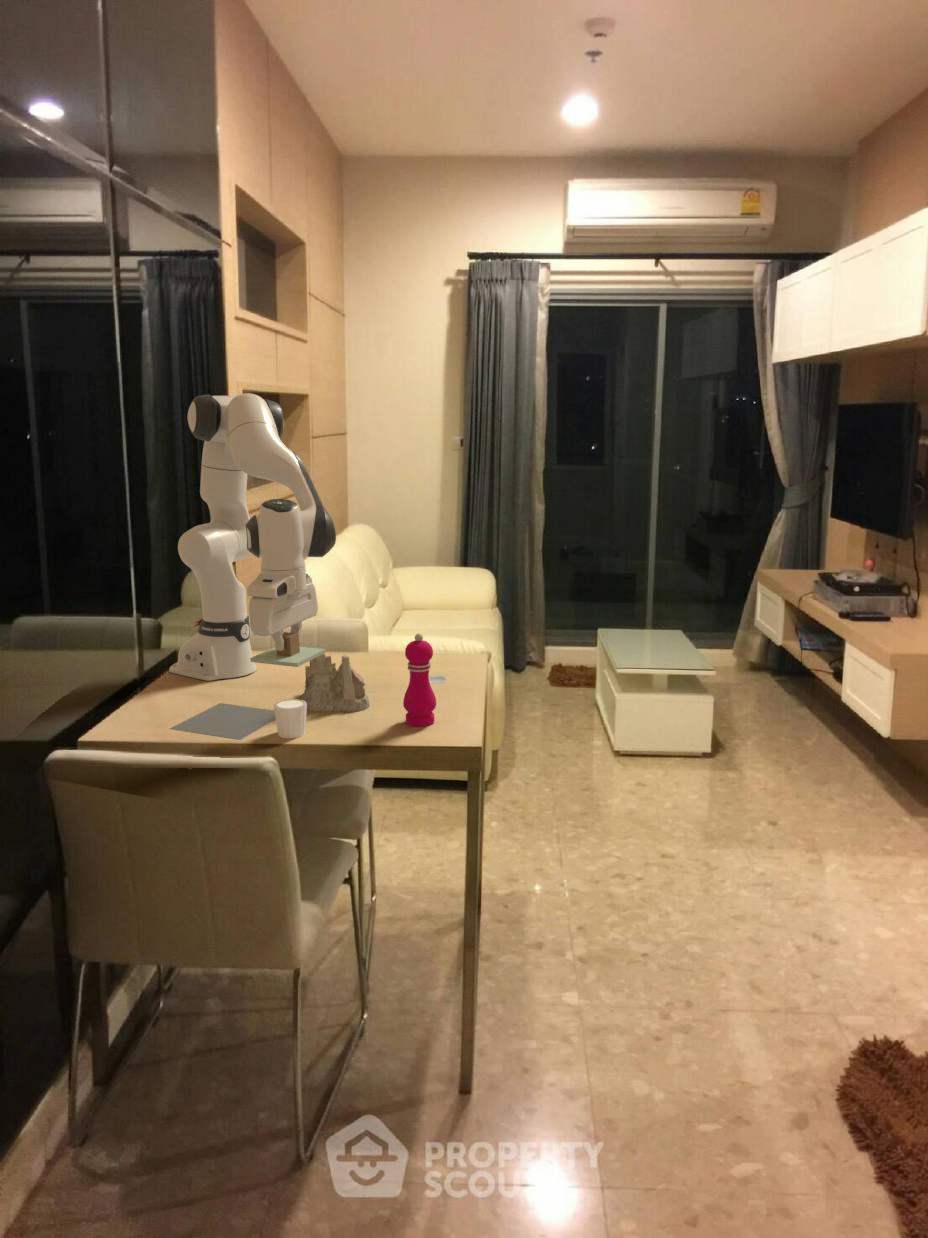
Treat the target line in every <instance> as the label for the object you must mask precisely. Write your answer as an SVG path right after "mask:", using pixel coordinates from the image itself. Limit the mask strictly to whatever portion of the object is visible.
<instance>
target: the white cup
mask: <svg viewBox="0 0 928 1238" xmlns="http://www.w3.org/2000/svg"><path fill="white" fill-rule="evenodd" d="M273 710H274V711H275V717H276V719H275V721H276V722H275V723H276V728H277V730H276V731H277V735H278V737H279V738H282V739H297V738H300V737H303V736H304V735H305V734H306V732H307V731H306V729H307V710H308V709H307V703H306V702H305V701H303V700H301V699H297V698H290V699H283V700H279V701H277V702H275V703H274V704H273Z"/></svg>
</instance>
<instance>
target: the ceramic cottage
mask: <svg viewBox="0 0 928 1238" xmlns="http://www.w3.org/2000/svg"><path fill="white" fill-rule="evenodd" d="M316 648H318V649H321V647H320V646H319V647H316ZM350 664H351V663H350V656H348V655H342V656H341V663H340V665H339V667H338V668H336V666H337V664H336V663H335V662H333V661H332V656H331V655H327V656H326V652H325V653H324V654H322V655H320V656H318V657H316V658H314V659H312V660H310V661H309V665H305V667H304V669H305V672H304V673H305V682H304V684H305V685H304V692H303V693H302V694H301V697H300V700H303V701H305V702H306V703H307V710H311V711H315V712H324V713H326V712H341V713H355V712H361V711H365V710H368V709H369V708H370V705H371V704H370V698H369V695H367V694H366V688H365V687H364V686H366V682H365V679H364V677H363V676H362V675H360V673H358V672H357V671H356V670H355V669H354V668H353V667H351V666H352V665H350Z"/></svg>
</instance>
